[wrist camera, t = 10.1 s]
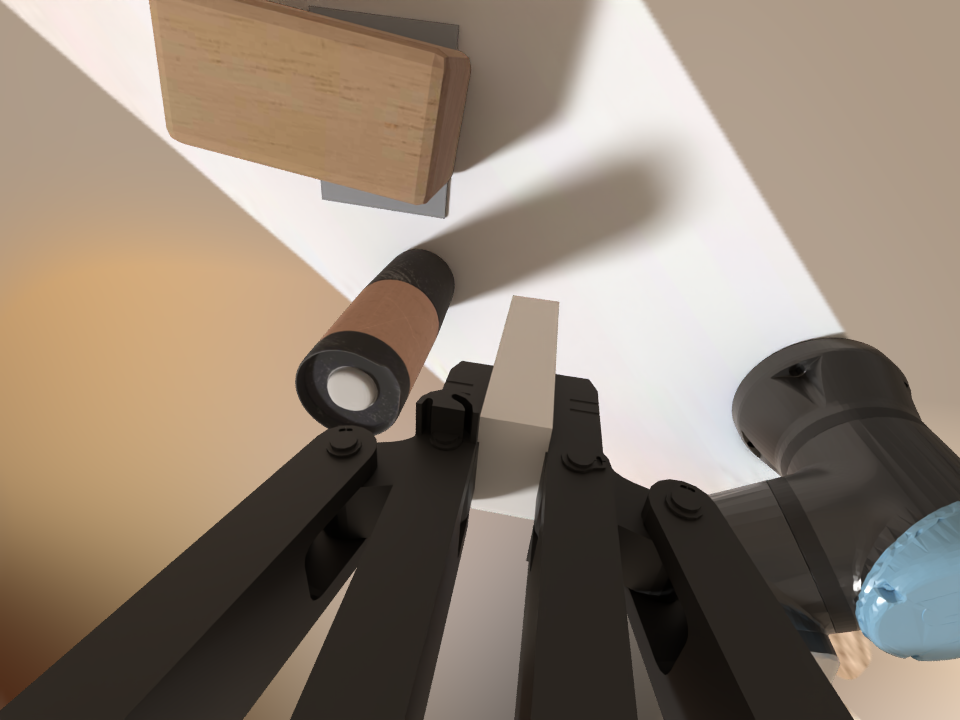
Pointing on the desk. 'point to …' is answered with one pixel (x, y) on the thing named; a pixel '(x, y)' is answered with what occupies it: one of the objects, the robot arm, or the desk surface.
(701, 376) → the desk surface
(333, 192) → the mat
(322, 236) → the desk surface
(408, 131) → the block
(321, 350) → the travel mug
